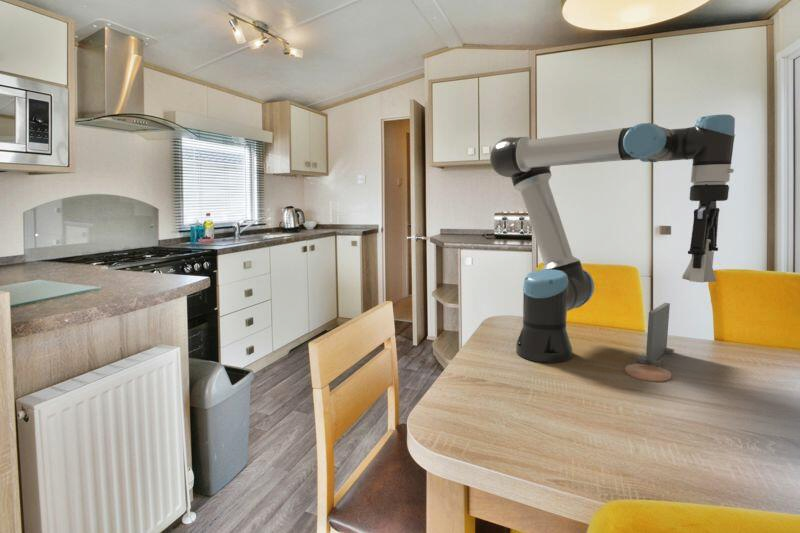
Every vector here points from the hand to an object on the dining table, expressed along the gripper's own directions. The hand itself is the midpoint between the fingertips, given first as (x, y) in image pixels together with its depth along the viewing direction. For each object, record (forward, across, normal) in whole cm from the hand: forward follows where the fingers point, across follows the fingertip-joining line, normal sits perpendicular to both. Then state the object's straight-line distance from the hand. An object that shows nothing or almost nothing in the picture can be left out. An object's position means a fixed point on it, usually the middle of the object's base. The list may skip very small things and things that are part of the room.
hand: (700, 279), depth 108 cm
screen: (+24, +5, +10) cm, 26 cm away
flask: (+1, 0, 0) cm, 1 cm away
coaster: (+24, -9, +8) cm, 26 cm away
